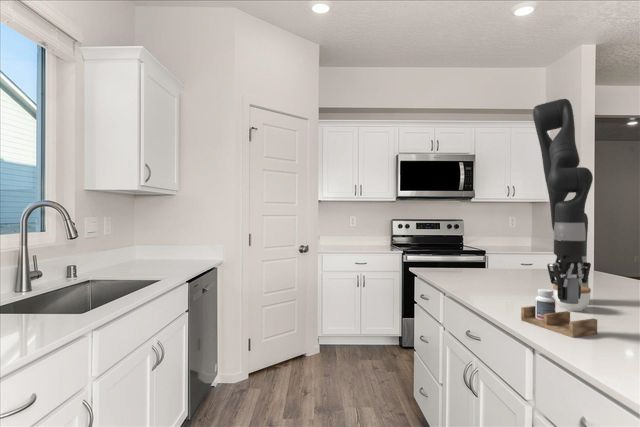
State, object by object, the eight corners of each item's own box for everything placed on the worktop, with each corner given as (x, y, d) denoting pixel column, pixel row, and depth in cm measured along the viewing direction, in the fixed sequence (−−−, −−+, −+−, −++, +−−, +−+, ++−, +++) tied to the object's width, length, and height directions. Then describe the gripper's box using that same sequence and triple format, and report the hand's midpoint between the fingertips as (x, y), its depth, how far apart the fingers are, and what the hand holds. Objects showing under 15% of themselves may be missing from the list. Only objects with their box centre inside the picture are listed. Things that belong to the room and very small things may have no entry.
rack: (543, 317, 121) (543, 304, 121) (597, 333, 105) (597, 319, 105) (521, 320, 118) (521, 307, 118) (572, 337, 102) (572, 322, 102)
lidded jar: (584, 306, 134) (584, 280, 134) (595, 314, 124) (595, 285, 124) (549, 304, 138) (549, 278, 138) (557, 312, 128) (557, 284, 127)
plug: (582, 303, 106) (582, 274, 106) (570, 304, 105) (570, 275, 105) (567, 299, 111) (567, 272, 111) (556, 300, 109) (556, 272, 109)
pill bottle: (558, 322, 113) (558, 292, 112) (539, 321, 114) (539, 291, 113) (551, 317, 118) (551, 288, 118) (532, 316, 119) (532, 288, 119)
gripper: (575, 237, 113) (575, 294, 114) (538, 238, 109) (538, 298, 109) (601, 238, 106) (600, 300, 106) (562, 240, 102) (562, 304, 102)
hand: (569, 298), depth 108 cm, fingers closed on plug, 4 cm apart
